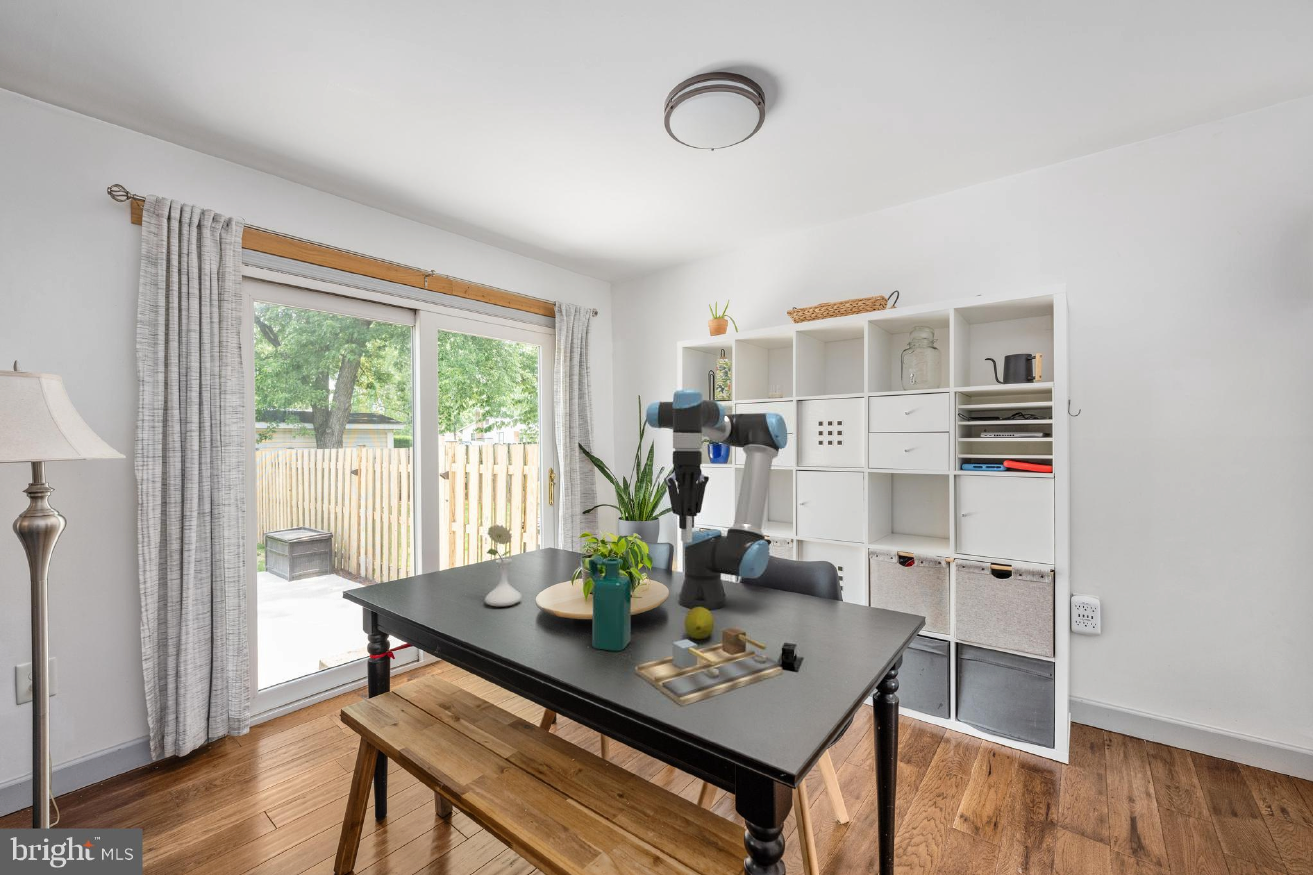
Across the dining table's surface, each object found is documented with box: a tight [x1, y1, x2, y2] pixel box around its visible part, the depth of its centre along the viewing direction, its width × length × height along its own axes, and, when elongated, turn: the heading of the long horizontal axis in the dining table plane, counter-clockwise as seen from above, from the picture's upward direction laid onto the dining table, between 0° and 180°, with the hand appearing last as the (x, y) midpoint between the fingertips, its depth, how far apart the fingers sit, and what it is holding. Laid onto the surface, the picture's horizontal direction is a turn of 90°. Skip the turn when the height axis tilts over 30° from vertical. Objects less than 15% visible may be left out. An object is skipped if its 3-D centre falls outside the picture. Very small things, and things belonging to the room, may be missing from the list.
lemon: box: [683, 607, 715, 640], centre depth 144 cm, size 11×8×8 cm
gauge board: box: [634, 626, 783, 707], centre depth 122 cm, size 28×18×6 cm, turn 123°
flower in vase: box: [484, 524, 523, 607], centre depth 172 cm, size 13×11×25 cm
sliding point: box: [672, 639, 715, 669], centre depth 120 cm, size 4×12×5 cm, turn 33°
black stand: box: [776, 642, 805, 674], centre depth 128 cm, size 12×7×5 cm, turn 157°
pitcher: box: [588, 555, 632, 652], centre depth 139 cm, size 10×8×22 cm
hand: (686, 541), depth 140 cm, fingers closed
